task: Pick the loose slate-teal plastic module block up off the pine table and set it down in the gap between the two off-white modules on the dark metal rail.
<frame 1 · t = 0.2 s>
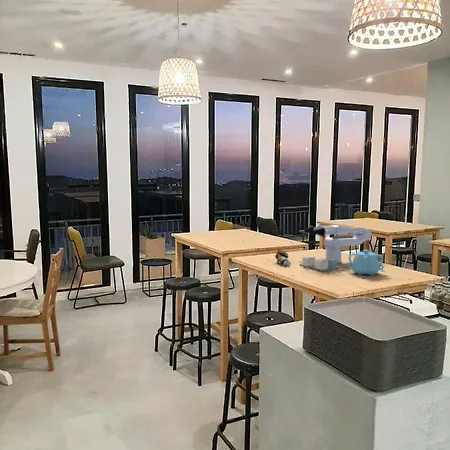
hand: (309, 231, 279), 21 cm above the table, tool horizontal, fingers open, 7 cm apart
rail: (314, 268, 274), on the table
mounted module a: (308, 266, 278), resting on rail
module: (331, 268, 273), on the table
figurine: (282, 264, 287), on the table
mounted module b: (321, 269, 268), resting on rail
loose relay: (323, 265, 281), on the table
decorative pot: (365, 273, 259), on the table
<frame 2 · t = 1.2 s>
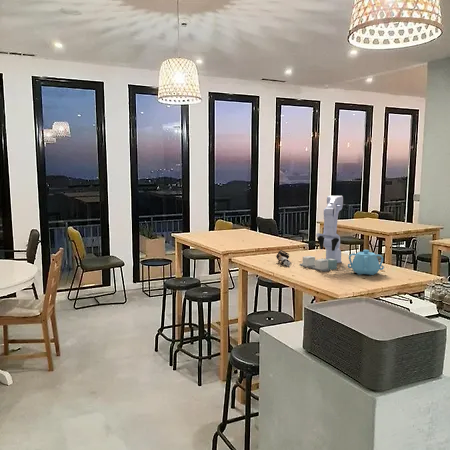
hand: (327, 250, 271), 11 cm above the table, tool tilted 15°, fingers open, 7 cm apart
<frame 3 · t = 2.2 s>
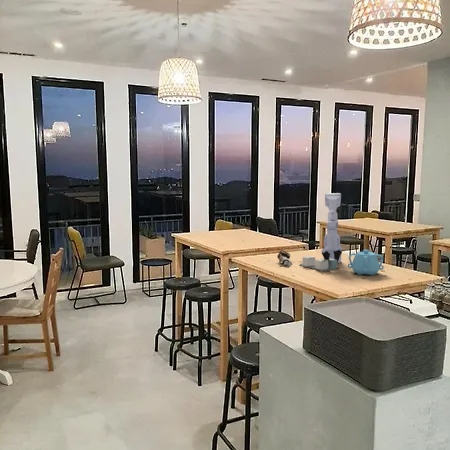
hand: (331, 263, 272), 3 cm above the table, tool pointing down, fingers open, 7 cm apart
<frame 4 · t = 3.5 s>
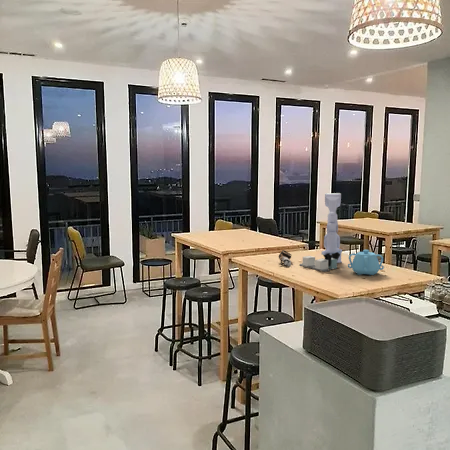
hand: (331, 265, 272), 2 cm above the table, tool pointing down, fingers closed on module, 4 cm apart
module: (331, 267, 273), on the table, touching gripper
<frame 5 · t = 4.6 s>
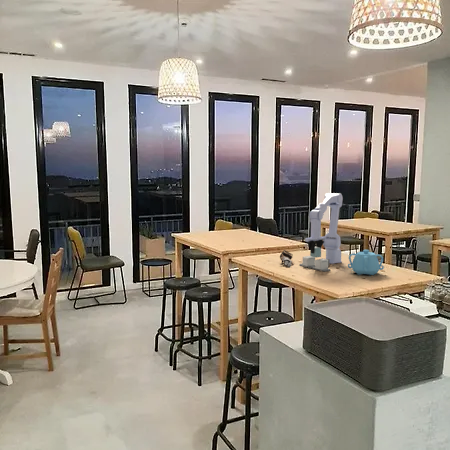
hand: (315, 252, 272), 9 cm above the table, tool pointing down, fingers closed on module, 4 cm apart
module: (315, 256, 272), point 7 cm above the table, touching gripper
when the fingers open (4 cm above the table, at t = 6.1 s): module stays where it is, resting on rail.
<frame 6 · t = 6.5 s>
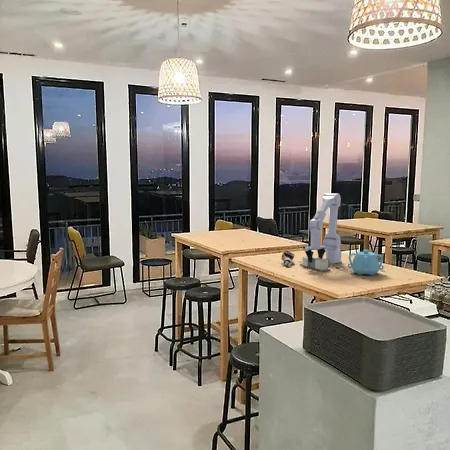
hand: (315, 261, 273), 4 cm above the table, tool pointing down, fingers open, 7 cm apart
module: (315, 266, 273), point 1 cm above the table, touching rail
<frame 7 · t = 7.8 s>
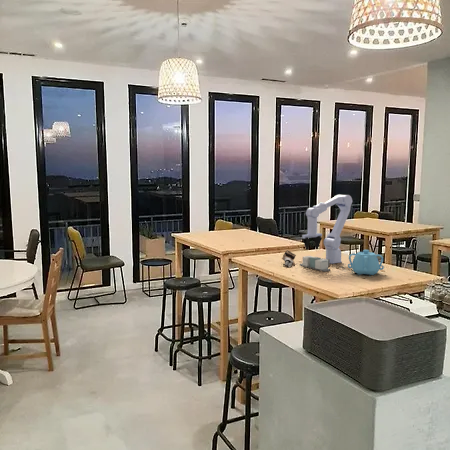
hand: (312, 249, 283), 10 cm above the table, tool pointing down, fingers open, 7 cm apart
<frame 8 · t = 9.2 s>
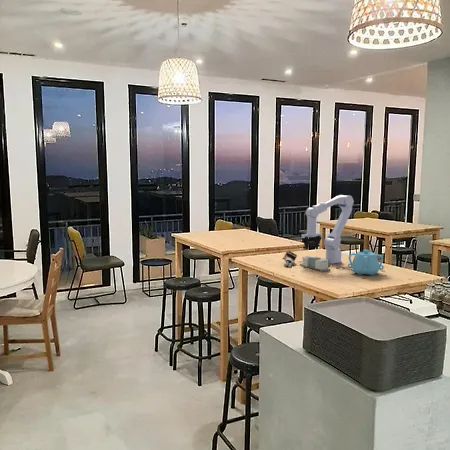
hand: (311, 248, 284), 10 cm above the table, tool pointing down, fingers open, 7 cm apart
at the end: module 0.2 cm off-centre on the rail, point 1.0 cm above the rail's base; module tilted 0°; the gripper is holding nothing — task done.
